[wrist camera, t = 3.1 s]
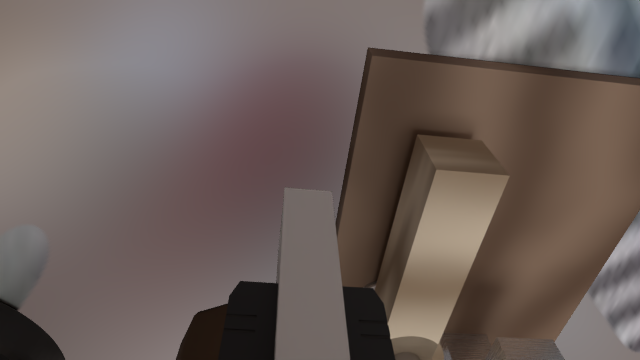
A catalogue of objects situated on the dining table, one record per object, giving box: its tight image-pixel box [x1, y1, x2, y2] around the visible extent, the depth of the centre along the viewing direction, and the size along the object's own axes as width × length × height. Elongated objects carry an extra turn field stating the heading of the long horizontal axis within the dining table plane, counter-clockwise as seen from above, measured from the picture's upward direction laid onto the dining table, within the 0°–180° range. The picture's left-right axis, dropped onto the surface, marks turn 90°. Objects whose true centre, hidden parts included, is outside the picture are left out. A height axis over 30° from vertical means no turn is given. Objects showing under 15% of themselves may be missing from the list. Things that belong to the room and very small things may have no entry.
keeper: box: [363, 280, 565, 360], centre depth 24 cm, size 10×7×6 cm
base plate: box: [335, 48, 640, 346], centre depth 24 cm, size 16×19×1 cm
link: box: [375, 134, 510, 360], centre depth 21 cm, size 14×4×5 cm, turn 173°
